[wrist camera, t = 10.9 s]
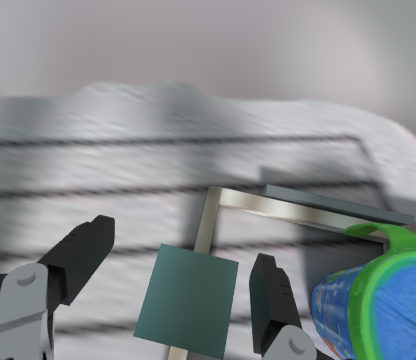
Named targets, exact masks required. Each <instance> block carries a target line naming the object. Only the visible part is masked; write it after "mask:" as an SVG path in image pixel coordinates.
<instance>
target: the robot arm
mask: <svg viewBox="0 0 416 360" xmlns="http://www.w3.org/2000/svg"><path fill="white" fill-rule="evenodd" d="M114 239H115V219H114V218H112V217H108V216H103V215H98V216H97V217H96V218H95V219H94V220H93V221H92V222H91V223H90V222H85V223H83V224H81V225H79V226H77V227H75V228H74V229H73V230H72V231H71V232H70V233H69V235H67V236H65V237H64V238H63V240H62V241H60V242H59V243H58V244H57V245H55V246H54V247H53V248H52V249H51V250H50V251H49V252H48V253H47V254H45V255H44V256H43V257H42V258H41V259H40V260H39V261H38V262H36V263H31V264H26V265H23V266H20V267H18V268H16V269H14V270H13V271H11V272H10V273H9V274H0V360H54V324H55V310H56V308H57V307H58V306H59V305H60V304H64V305H68V306H70V304H71V303H72V302H73V300H74V299H75V298H76V296H77V295H78V294H79V292H80V291H81V290H82V288H83V287H84V286H85V284H86V283H87V282H88V280H89V279H90V278H91V276H92V275H93V274H94V272H95V271H96V270H97V268H98V267H99V266H100V264H101V263H102V262H103V260H104V259H105V258H106V256H107V255H108V254H109V252H110V251H111V249H112V247H113V244H114ZM249 289H250V304H251V319H252V334H253V349H254V353H257V354H261V355H262V360H334V359H333V358H331V357H329V356H328V355H326V354H324V353H322V352H321V351H319V350H318V349H317V348H316V347H315V345H314V343H313V341H312V339H311V338H310V337H309V336H308V334H307V333H306V332H305V331H303V329H302V326H301V322H300V318H299V315H298V311H297V307H296V304H295V300H294V297H293V293H292V289H291V285H290V282H289V278H288V276H287V275H286V273H285V272H284V270H283V269H282V268H277V267H276V262H275V258H274V256H270V255H266V254H262V253H259V254H258V256H257V259H256V261H255V264H254V266H253V269H252V271H251V274H250V280H249ZM344 360H354V359H350V358H347V359H344Z"/></svg>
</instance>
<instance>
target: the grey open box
mask: <svg viewBox="0 0 416 360" xmlns="http://www.w3.org/2000/svg"><path fill="white" fill-rule="evenodd" d="M219 206H223V207H228V208H232V209H237V210H241V211H245V212H250V213H254V214H258V215H263V216H267V217H271V218H276V219H280V220H284V221H289V222H293V223H298V224H302V225H306V226H311V227H315V228H319V229H324V230H328V231H332V232H337V233H341V234H344V232H343V231H344V230H345V229H346V228H347V227H350V226H352V225H356V224H362V223H377V222H372V221H368V220H364V219H359V218H355V217H350V216H346V215H341V214H337V213H333V212H328V211H324V210H319V209H315V208H310V207H306V206H301V205H297V204H293V203H288V202H284V201H279V200H275V199H270V198H266V197H262V196H257V195H253V194H248V193H244V192H239V191H235V190H231V189H226V188H222V187H217V186H213V185H209V189H208V193H207V197H206V201H205V205H204V210H203V214H202V218H201V222H200V226H199V230H198V235H197V239H196V243H195V247H194V251H190V250H186V249H182V248H178V247H174V246H169V245H165V244H161V245H160V249H159V252H158V256H157V259H156V262H155V266H154V269H153V272H152V276H151V279H150V282H149V286H148V289H147V292H146V296H145V299H144V302H143V306H142V309H141V313H140V316H139V319H138V323H137V326H136V329H135V333H134V336H135V337H138V338H142V339H146V340H150V341H154V342H157V343H161V344H165V345H169V346H171V347H170V352H169V356H168V360H186V357H187V353H188V351H192V352H195V353H199V354H203V355H207V356H211V357H214V358H218V359H222V360H223V358H224V352H225V345H226V339H227V333H228V327H229V320H230V314H231V308H232V302H233V295H234V289H235V283H236V277H237V270H238V264H239V262H236V261H232V260H228V259H223V258H219V257H215V256H211V255H208V254H209V249H210V245H211V240H212V235H213V231H214V226H215V221H216V217H217V212H218V207H219ZM380 224H381V223H380ZM399 227H403V228H405V229H407V230H409V231H411V232H412V233H414V234H416V223H413V224H408V225H404V226H399ZM354 237H358V238H363V239H367V240H372V241H376V242H380V243H383V249H384V254H385V253H386V252H388V251H389V250H390V240H389V238H388V236H387V235H385V234H384V233H383V232H382V231H380V230H377V231H375V232H372V233H370V234H369V235H368V236H354Z"/></svg>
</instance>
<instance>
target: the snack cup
mask: <svg viewBox="0 0 416 360" xmlns="http://www.w3.org/2000/svg"><path fill="white" fill-rule="evenodd" d="M377 230H380V231H382V232H383V233H384V234H385V235H387V236H388V238H389V240H390V250H389V251H388V252H386V253H385V254H383V255H381V256H378V257H377V258H375V259H373V260H372V261H371V262H369V263H365V264H362V265H358V266H355V267H352V268H348V269H344V270H341V271H337V272H334V273H331V274H329V275H328V276H326V277H324V278H323V279H322V280H321V281H320V282H319V284H318V285H317V286H316V287H315V288H314V289H313V292H312V294H311V295H312V304H311V309H312V316H313V319H314V323H315V326H316V330H317V332H318V333H319V335H320V336H321V338H322V339H323V341H324V342H325V343H326V344H327V346H328V347H329V348H330V349H331V350H332V351H333V352H334V353H335V354H336V355H337V356H338V357H339V358H340V359H341V360H344V359H347V358H350V359H354V360H416V234H414V233H412V232H411V231H409V230H407V229H405V228H403V227H399V226H396V225H392V224H383V223H382V224H380V223H362V224H356V225H352V226H350V227H347V228H346V229H345V230H344V231H343V232H344V234H345V235H348V236H368V235H369V234H370V233H372V232H375V231H377Z"/></svg>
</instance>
